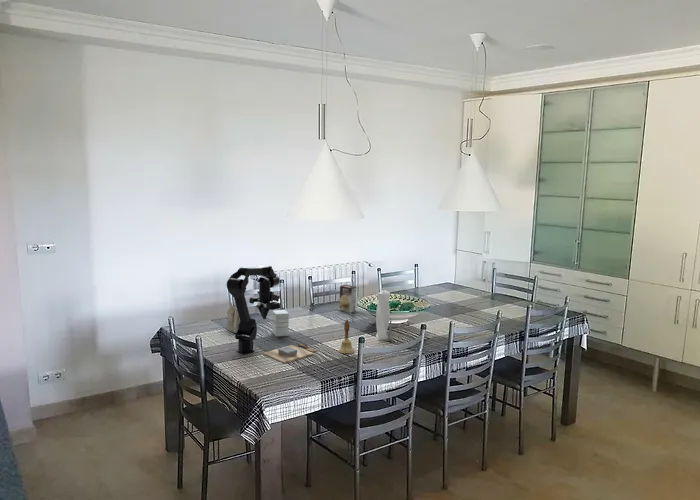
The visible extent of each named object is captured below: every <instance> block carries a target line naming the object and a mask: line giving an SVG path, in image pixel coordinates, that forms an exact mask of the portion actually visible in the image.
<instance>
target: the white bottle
mask: <svg viewBox="0 0 700 500" xmlns="http://www.w3.org/2000/svg"><path fill="white" fill-rule="evenodd" d="M378 290H379V291H380V292H378ZM376 293H377V301H378V302H377V305H376V312H375V327H376V335H375V338H376V340H378V341H379V342H389V340H392V331H393V330H392V329H393V327H392V326H393V325H392V319H391V316H390V315H391V309H390V304H389V299H390V296H391V291H389V290H384V289H381V288H376ZM387 332H388V334H387Z"/></svg>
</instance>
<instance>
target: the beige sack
mask: <svg viewBox="0 0 700 500" xmlns="http://www.w3.org/2000/svg"><path fill="white" fill-rule="evenodd" d="M249 315H250V318H251V317H252V316H251V314H250V313H249ZM226 320H227V321H226V322H227V323H226V328H225V330H226V331H228V330H229V332H231V333H234V334H236V333H237V330H238V328H239V327H238V325H239V323H240V318H239V314H238V311H237V307H234V305H233V303H232V302H231V303H229V308H228V310H227V318H226Z"/></svg>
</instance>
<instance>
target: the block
mask: <svg viewBox="0 0 700 500" xmlns="http://www.w3.org/2000/svg"><path fill="white" fill-rule="evenodd" d="M288 346H289V345H287V347H286V346H283V347H284V348H282V347H279V348H280V349H279V348H277V349H278V353H280V354H282V355H284V356H287V357H289V356H292V355H295V354H297V350H296V349H293V348H291V347H288Z"/></svg>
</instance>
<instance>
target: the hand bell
mask: <svg viewBox="0 0 700 500" xmlns="http://www.w3.org/2000/svg"><path fill="white" fill-rule="evenodd" d="M343 326H344V327H343V328H344V339H342V341H341V345H340V347H339V348H338V350H337V351H338V352H339V353H340V354H343V353H344V354H343V355H346V354H345V353H351V354H354V353H355V352H354V351H355V348H353V346H352V341H351V339H350V338H349V332H350V322H349V320H348V319H346V320H345V321H344V325H343ZM353 352H354V353H353Z"/></svg>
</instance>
